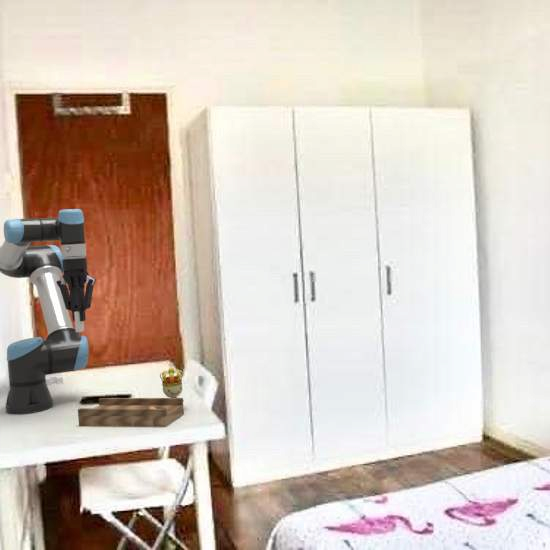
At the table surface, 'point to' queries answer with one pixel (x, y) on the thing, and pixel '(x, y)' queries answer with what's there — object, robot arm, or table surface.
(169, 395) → the toy
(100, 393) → the table surface
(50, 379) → the slotted bracket
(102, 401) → the brown wooden tray
